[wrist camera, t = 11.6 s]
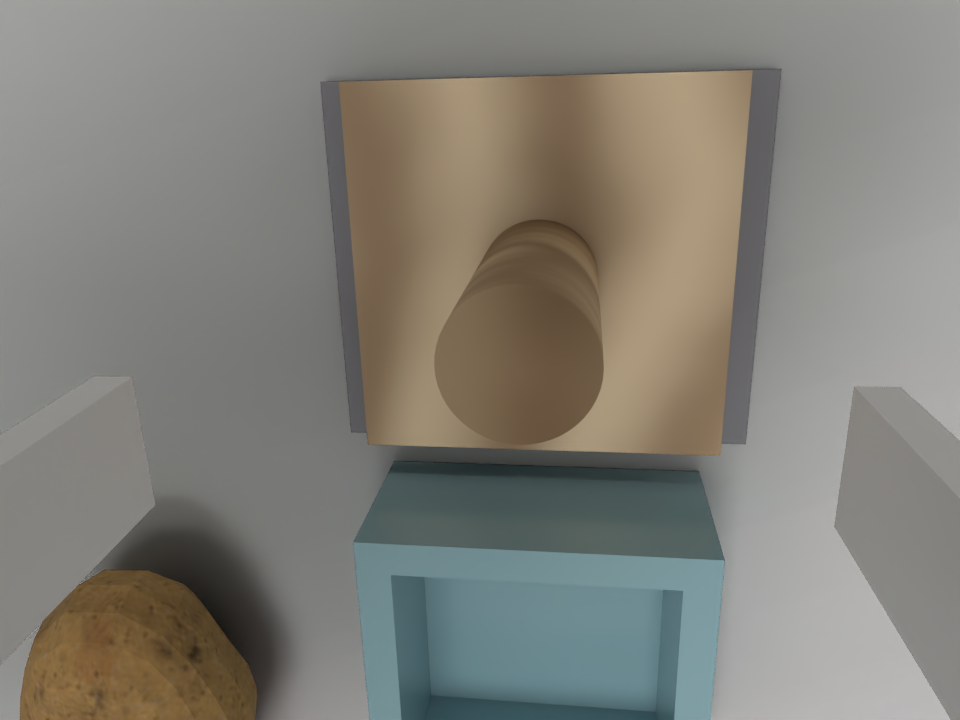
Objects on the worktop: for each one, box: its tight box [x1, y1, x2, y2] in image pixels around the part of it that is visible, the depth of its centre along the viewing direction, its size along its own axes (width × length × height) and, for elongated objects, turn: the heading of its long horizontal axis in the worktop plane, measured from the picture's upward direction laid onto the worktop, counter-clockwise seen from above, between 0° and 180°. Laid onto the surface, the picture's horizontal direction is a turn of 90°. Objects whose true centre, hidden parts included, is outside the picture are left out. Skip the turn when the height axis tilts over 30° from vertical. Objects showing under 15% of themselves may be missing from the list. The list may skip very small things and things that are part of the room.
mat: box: [321, 69, 781, 444], centre depth 28 cm, size 15×13×1 cm
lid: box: [339, 70, 753, 456], centre depth 23 cm, size 13×13×10 cm
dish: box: [353, 461, 725, 720], centre depth 30 cm, size 12×12×6 cm
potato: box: [20, 570, 257, 720], centre depth 33 cm, size 10×14×8 cm
